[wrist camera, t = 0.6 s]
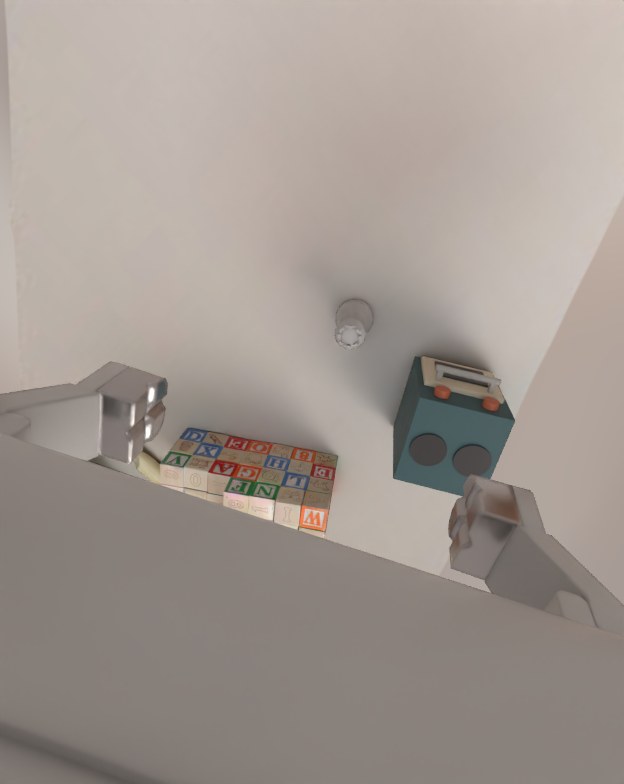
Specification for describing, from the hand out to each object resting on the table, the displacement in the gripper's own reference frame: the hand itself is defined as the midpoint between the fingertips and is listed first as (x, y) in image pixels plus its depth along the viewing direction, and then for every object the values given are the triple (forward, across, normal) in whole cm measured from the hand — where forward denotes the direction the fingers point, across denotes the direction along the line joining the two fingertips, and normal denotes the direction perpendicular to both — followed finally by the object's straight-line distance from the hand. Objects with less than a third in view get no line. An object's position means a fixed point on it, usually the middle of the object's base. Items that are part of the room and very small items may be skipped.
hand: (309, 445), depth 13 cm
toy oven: (+47, -12, +18) cm, 52 cm away
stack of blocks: (+45, +8, +35) cm, 58 cm away
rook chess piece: (+47, +2, +12) cm, 48 cm away
